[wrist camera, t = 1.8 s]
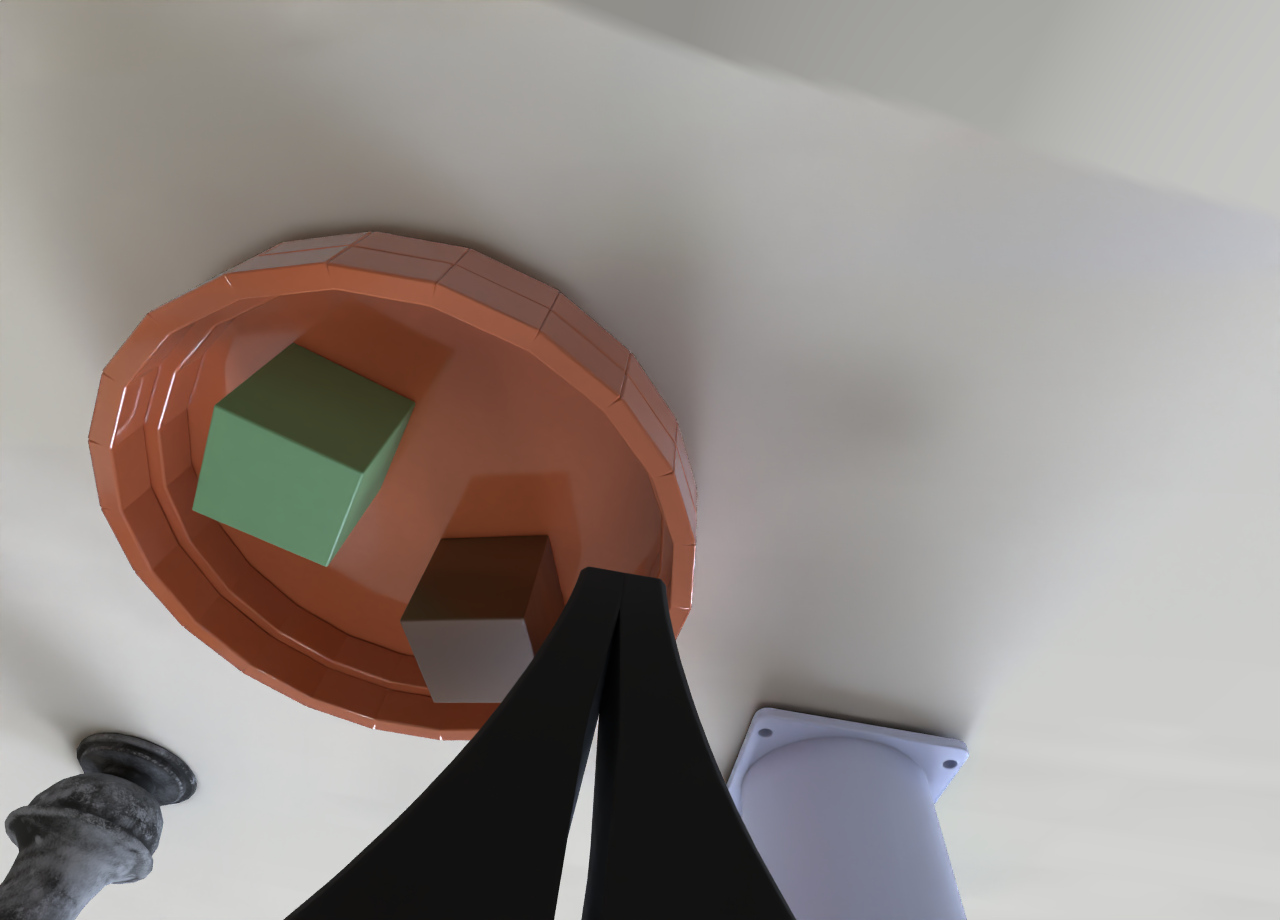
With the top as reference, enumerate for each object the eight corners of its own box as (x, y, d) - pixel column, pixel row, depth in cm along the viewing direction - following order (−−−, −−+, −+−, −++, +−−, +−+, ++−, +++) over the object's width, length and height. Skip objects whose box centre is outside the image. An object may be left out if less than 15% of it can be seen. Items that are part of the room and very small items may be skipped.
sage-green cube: (380, 489, 21) (326, 568, 18) (266, 437, 20) (190, 510, 17) (416, 401, 19) (363, 473, 16) (292, 341, 18) (213, 404, 15)
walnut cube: (567, 615, 23) (547, 703, 20) (467, 617, 23) (433, 703, 20) (548, 534, 21) (523, 618, 18) (440, 537, 22) (398, 620, 19)
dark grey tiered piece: (205, 816, 33) (-9, 1160, 23) (81, 785, 33) (-194, 1126, 23) (200, 750, 30) (-51, 1116, 20) (62, 715, 30) (-267, 1074, 20)
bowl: (651, 701, 26) (644, 775, 23) (220, 628, 26) (167, 695, 23) (757, 292, 17) (766, 341, 14) (95, 172, 17) (-13, 202, 14)
